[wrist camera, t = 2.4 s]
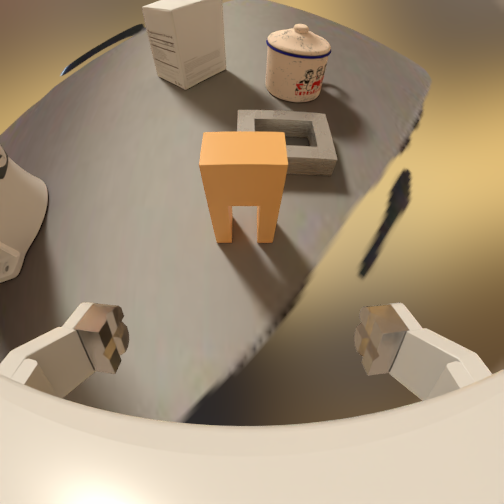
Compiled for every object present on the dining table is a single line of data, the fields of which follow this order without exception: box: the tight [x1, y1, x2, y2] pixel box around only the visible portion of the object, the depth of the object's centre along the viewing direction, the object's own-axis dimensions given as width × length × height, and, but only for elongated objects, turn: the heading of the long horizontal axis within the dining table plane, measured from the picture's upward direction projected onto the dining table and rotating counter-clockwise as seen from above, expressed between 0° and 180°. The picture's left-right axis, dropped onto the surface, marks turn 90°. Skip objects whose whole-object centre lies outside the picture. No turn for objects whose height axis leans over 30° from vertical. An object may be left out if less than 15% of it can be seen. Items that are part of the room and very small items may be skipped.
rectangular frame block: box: [237, 110, 337, 176], centre depth 31 cm, size 8×11×3 cm
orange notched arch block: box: [199, 131, 288, 243], centre depth 23 cm, size 6×3×12 cm, turn 90°
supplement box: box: [142, 0, 226, 90], centre depth 33 cm, size 9×9×15 cm
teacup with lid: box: [266, 24, 331, 102], centre depth 33 cm, size 12×9×12 cm
